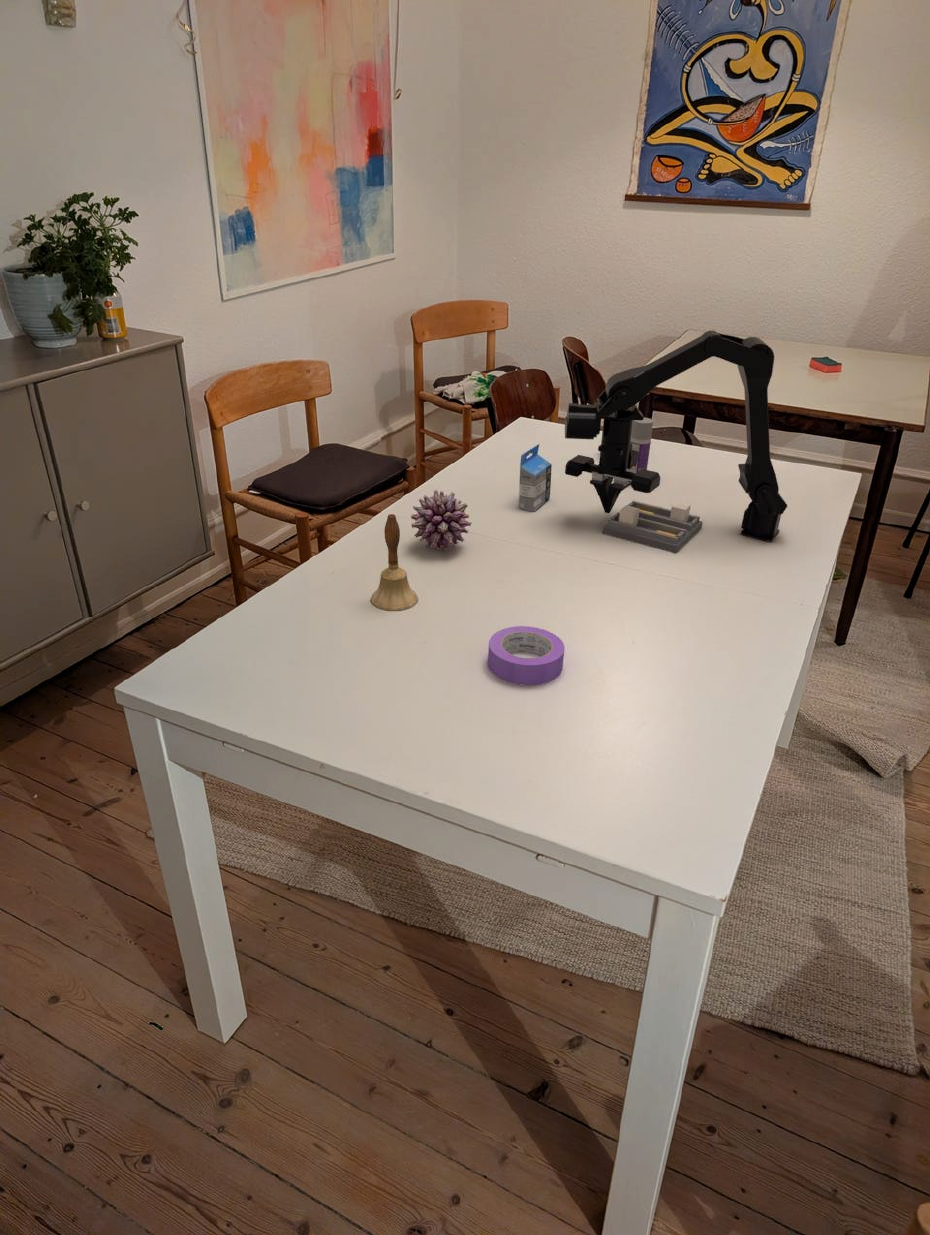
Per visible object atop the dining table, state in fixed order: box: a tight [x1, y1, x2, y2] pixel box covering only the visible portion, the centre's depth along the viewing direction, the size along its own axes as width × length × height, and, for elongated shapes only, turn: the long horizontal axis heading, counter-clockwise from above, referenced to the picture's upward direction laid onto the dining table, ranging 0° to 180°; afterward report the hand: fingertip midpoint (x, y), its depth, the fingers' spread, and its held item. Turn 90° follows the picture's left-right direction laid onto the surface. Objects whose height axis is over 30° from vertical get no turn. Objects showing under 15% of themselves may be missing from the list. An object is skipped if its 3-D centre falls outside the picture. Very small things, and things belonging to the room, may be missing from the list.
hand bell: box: [370, 513, 419, 612], centre depth 149 cm, size 8×8×16 cm
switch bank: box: [601, 500, 703, 554], centre depth 181 cm, size 16×15×3 cm
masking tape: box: [487, 625, 565, 686], centre depth 135 cm, size 12×12×4 cm
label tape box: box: [518, 443, 553, 512], centre depth 190 cm, size 9×4×12 cm, turn 151°
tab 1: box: [619, 504, 640, 526], centre depth 179 cm, size 3×3×4 cm
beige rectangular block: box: [670, 501, 691, 522], centre depth 181 cm, size 3×3×4 cm
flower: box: [410, 489, 473, 552], centre depth 169 cm, size 12×12×12 cm
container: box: [627, 417, 654, 473], centre depth 202 cm, size 5×5×15 cm
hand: (607, 512), depth 181 cm, fingers closed
